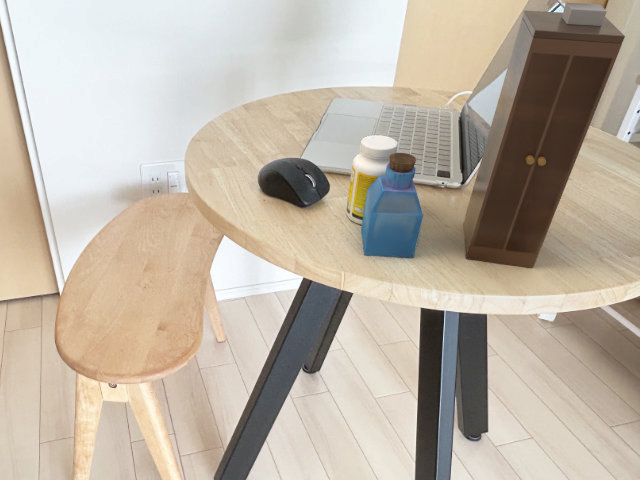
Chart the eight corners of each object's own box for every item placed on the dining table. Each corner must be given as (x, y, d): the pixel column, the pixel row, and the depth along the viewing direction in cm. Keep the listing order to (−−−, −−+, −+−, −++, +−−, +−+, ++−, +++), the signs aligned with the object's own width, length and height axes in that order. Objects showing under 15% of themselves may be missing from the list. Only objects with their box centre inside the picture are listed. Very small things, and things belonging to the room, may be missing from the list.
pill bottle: (399, 221, 79) (414, 146, 73) (362, 231, 77) (375, 155, 70) (372, 201, 84) (384, 129, 77) (337, 211, 82) (346, 137, 75)
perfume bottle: (361, 229, 78) (374, 146, 70) (407, 232, 77) (425, 148, 70) (364, 255, 73) (378, 168, 65) (413, 258, 72) (433, 171, 65)
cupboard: (463, 223, 79) (524, 10, 62) (524, 231, 78) (603, 14, 61) (466, 261, 72) (536, 31, 55) (533, 271, 70) (627, 37, 53)
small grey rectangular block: (594, 19, 59) (599, 4, 58) (601, 26, 57) (607, 11, 56) (561, 17, 60) (566, 2, 59) (566, 24, 57) (571, 9, 56)
